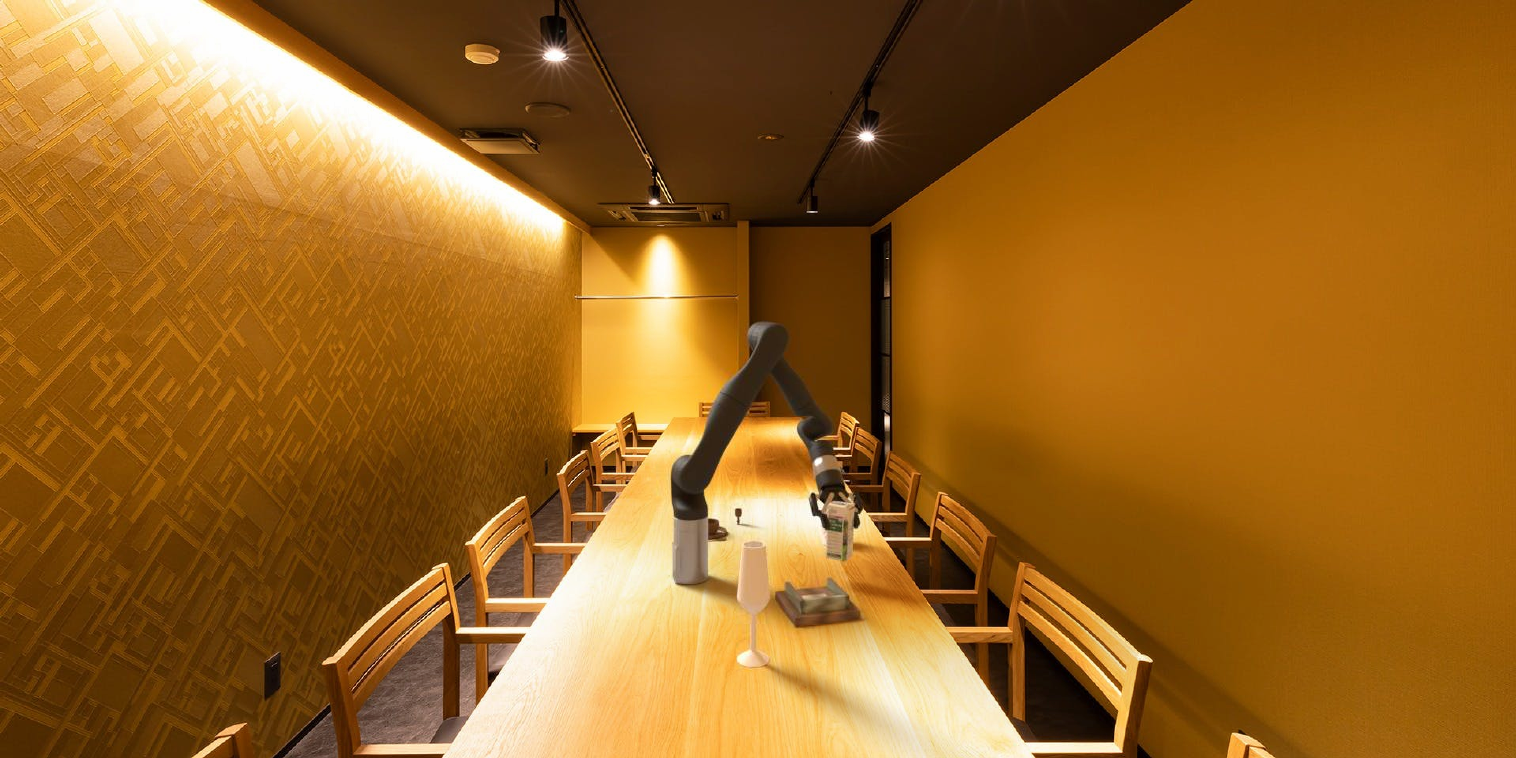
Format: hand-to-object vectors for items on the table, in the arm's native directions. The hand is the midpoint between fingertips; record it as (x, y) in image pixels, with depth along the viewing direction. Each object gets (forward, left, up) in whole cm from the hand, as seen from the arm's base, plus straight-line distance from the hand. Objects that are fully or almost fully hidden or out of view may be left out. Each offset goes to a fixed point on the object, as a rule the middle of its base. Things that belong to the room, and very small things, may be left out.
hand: (842, 528), depth 177 cm
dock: (-12, -13, -15) cm, 23 cm away
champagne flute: (-33, -33, -15) cm, 49 cm away
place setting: (-22, +52, -16) cm, 59 cm away
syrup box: (0, +1, -8) cm, 9 cm away
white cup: (+10, +32, -15) cm, 37 cm away
